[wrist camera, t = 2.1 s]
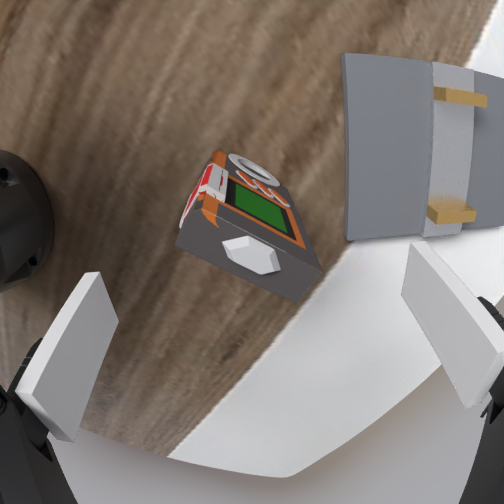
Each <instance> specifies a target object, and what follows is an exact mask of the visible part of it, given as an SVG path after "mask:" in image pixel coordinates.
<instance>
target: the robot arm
mask: <svg viewBox="0 0 504 504" xmlns="http://www.w3.org/2000/svg"><path fill="white" fill-rule="evenodd" d="M53 233H54V228H53V218H52V212H51V208H50V204H49V201H48V198H47V196H46V193H45V191H44V189H43V187H42V185H41V183H40V181H39V180H38V178H37V177H36V175H35V174H34V172H33V171H32V170H31V169H30V167H29V166H28V165H27V164H26V163H25V162H23V161H22V160H21V159H20V158H18V157H17V156H15V155H14V154H12V153H9V152H7V151H3V150H0V293H2V292H4V291H6V290H8V289H10V288H12V287H14V286H16V285H18V284H20V283H22V282H24V281H26V280H28V279H29V278H30V277H32V276H33V275H34V274H35V273H36V272H37V271H38V269H39V268H40V267H41V266H42V265H43V263H44V262H45V261H46V259H47V258H48V256H49V253H50V251H51V247H52V243H53ZM401 296H402V298H403V299H404V301H405V302H406V304H407V305H408V307H409V309H410V310H411V312H412V314H413V315H414V317H415V318H416V320H417V322H418V323H419V325H420V327H421V328H422V330H423V332H424V334H425V335H426V337H427V339H428V340H429V342H430V344H431V346H432V347H433V349H434V351H435V353H436V354H437V356H438V358H439V360H440V362H441V363H442V365H443V367H444V369H445V371H446V372H447V374H448V376H449V378H450V380H451V382H452V384H453V386H454V388H455V389H456V391H457V393H458V395H459V397H460V399H461V401H462V403H463V405H464V407H465V409H466V408H469V407H471V406H474V405H476V404H479V403H481V402H482V401H483V399H484V398H485V397H486V395H487V394H488V392H490V394H491V396H492V400H491V401H490V402H489V404H488V405H487V407H486V408H485V410H484V411H483V412H482V414H481V416H480V417H481V418H482V417H484V415H485V414H486V412H487V416H486V420H485V424H484V428H483V432H482V436H481V440H480V443H479V447H478V450H477V454H476V457H475V460H474V463H473V466H472V469H471V472H470V475H469V478H468V481H467V484H466V486H465V489H464V492H463V494H462V497H461V499H460V502H459V504H504V318H503V317H502V316H501V314H499V312H498V311H497V310H496V308H495V307H494V306H493V305H492V304H491V303H490V302H489V301H487V300H486V299H484V298H483V297H481V296H480V297H476V296H475V295H474V294H473V293H472V291H471V290H470V289H469V288H468V287H467V286H466V285H465V283H464V282H463V281H462V280H461V279H460V278H459V277H458V275H457V274H456V273H455V272H454V271H453V270H452V269H451V268H450V267H449V265H448V264H447V263H446V262H445V261H444V260H443V259H442V258H441V257H440V256H439V255H438V254H437V253H436V252H435V250H434V249H433V248H432V247H431V246H430V245H429V244H428V243H427V242H426V241H417V242H410V247H409V254H408V260H407V266H406V272H405V277H404V282H403V288H402V293H401ZM118 323H119V320H118V318H117V315H116V313H115V310H114V308H113V305H112V303H111V300H110V298H109V295H108V293H107V290H106V287H105V285H104V282H103V279H102V277H101V274H100V272H90V273H85V274H84V275H83V277H82V278H81V280H80V281H79V283H78V284H77V286H76V287H75V289H74V290H73V292H72V293H71V295H70V296H69V298H68V299H67V301H66V302H65V304H64V306H63V307H62V309H61V310H60V312H59V313H58V315H57V317H56V318H55V320H54V322H53V323H52V325H51V326H50V328H49V330H48V331H47V333H46V335H45V337H44V338H40V339H39V340H38V341H37V342H36V343H35V344H34V345H33V346H32V347H31V349H30V350H29V352H28V354H27V356H26V358H25V359H24V361H23V363H22V366H20V368H19V370H18V372H17V374H16V375H15V377H14V379H13V381H12V383H11V385H10V387H9V389H8V391H7V393H6V391H5V390H4V389H3V388H2V386H1V385H0V504H78V503H77V501H76V499H75V497H74V495H73V493H72V491H71V489H70V487H69V485H68V483H67V480H66V478H65V476H64V474H63V471H62V469H61V467H60V465H59V462H58V460H57V457H56V455H55V453H54V450H53V448H52V445H51V443H50V441H49V440H48V438H47V434H48V432H49V431H50V432H51V433H52V434H53V435H54V436H55V438H56V439H58V440H62V441H67V442H73V443H74V442H75V439H76V436H77V432H78V429H79V426H80V423H81V420H82V417H83V414H84V411H85V408H86V406H87V403H88V400H89V397H90V394H91V391H92V389H93V386H94V383H95V381H96V378H97V375H98V373H99V370H100V367H101V365H102V362H103V360H104V357H105V354H106V352H107V349H108V347H109V344H110V342H111V339H112V337H113V335H114V332H115V330H116V327H117V325H118Z"/></svg>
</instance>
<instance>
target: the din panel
mask: <svg viewBox="0 0 504 504" xmlns="http://www.w3.org/2000/svg"><path fill="white" fill-rule="evenodd" d="M340 56H341V69H342V84H343V103H344V132H345V208H344V237H345V238H346V240H347V241H351V240H361V239H371V238H381V237H391V236H402V235H412V234H420V227H421V220H422V212H423V204H424V195H425V185H426V173H427V159H428V140H429V73H428V62H427V61H421V60H414V59H407V58H399V57H390V56H380V55H368V54H352V53H343V54H340ZM474 93H478V94H483V95H487V108H484V107H478V106H474V128H473V145H472V157H471V167H470V176H469V184H468V192H467V199H466V203H467V204H469V205H470V206H471V207H473V208H474V209H476V210H477V213H476V218H475V222H464V223H462V228H461V230H464V229H474V228H484V227H495V226H504V79H503V78H500V77H496V76H492V75H489V74H485V73H481V72H477V71H474Z"/></svg>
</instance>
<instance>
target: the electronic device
mask: <svg viewBox="0 0 504 504" xmlns="http://www.w3.org/2000/svg"><path fill="white" fill-rule="evenodd" d="M179 228H180V232H179V234H178V237H177V240H176V243H175V246H176V247H178V248H180V249H183V250H185V251H187V252H189V253H191V254H193V255H195V256H197V257H199V258H201V259H203V260H205V261H207V262H209V263H211V264H213V265H215V266H218V267H220V268H222V269H224V270H226V271H228V272H230V273H232V274H234V275H236V276H238V277H240V278H243V279H245V280H247V281H249V282H251V283H253V284H255V285H257V286H260V287H262V288H264V289H266V290H268V291H270V292H272V293H275V294H277V295H279V296H281V297H283V298H285V299H287V300H290V301H292V302H294V303H297V302H298V301H299V300H300V298H301V297H302V296H303V295H304V294H305V292H306V291H307V290H308V289H309V287H310V286H311V285H312V284H313V282H314V281H315V280H316V279H317V277H318V276H319V275H320V274H321V272H322V270H321V267H320V265H319V262H318V260H317V257H316V255H315V252H314V250H313V248H312V245H311V243H310V241H309V238H308V236H307V233H306V231H305V229H304V226H303V224H302V222H301V219H300V217H299V215H298V213H297V210H296V208H295V206H294V203H293V201H292V199H291V197H290V194H289V192H288V190H287V189H286V188H284V187H282V186H281V185H280V183H279V182H278V181H277V179H276V178H275V177H273V176H272V175H271V174H270V173H269V172H267V171H266V170H264V169H263V168H261V167H260V166H258V165H257V164H255V163H253V162H251V161H250V160H248V159H246V158H243V157H241V156H239V155H235V154H229V156H227V155H226V154H224V153H222V152H220V151H216V152H213V154H212V156H211V158H210V159H209V161H208V163H207V165H206V166H205V168H204V170H203V172H202V174H201V176H200V179H199V181H198V184H197V185H196V187H195V189H194V191H193V192H192V194H191V195H190V198H189V200H188V203H187V205H186V208H185V210H184V213H183V215H182V218H181V220H180V225H179Z"/></svg>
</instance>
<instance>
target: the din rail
mask: <svg viewBox="0 0 504 504" xmlns="http://www.w3.org/2000/svg"><path fill="white" fill-rule="evenodd" d="M428 73H429V140H428V159H427V173H426V185H425V195H424V204H423V212H422V220H421V227H420V235H421V236H422V237H431V236H441V235H451V234H460V233H461V228H462V223H464V222H475V218H476V213H477V210H476V209H474V208H473V207H471V206H470V205H469V204H467V203H466V199H467V192H468V184H469V176H470V167H471V157H472V145H473V128H474V106H478V107H484V108H487V95H483V94H478V93H474V70H472V69H468V68H463V67H458V66H454V65H449V64H444V63H438V62H428Z"/></svg>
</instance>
